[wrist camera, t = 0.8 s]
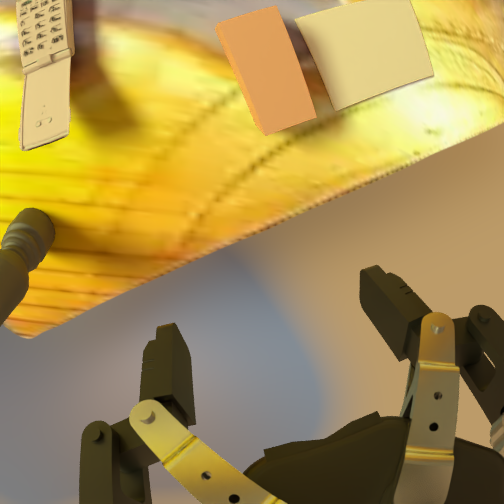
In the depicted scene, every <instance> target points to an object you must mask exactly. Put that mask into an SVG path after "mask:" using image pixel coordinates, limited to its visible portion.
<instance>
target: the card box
mask: <svg viewBox="0 0 504 504" xmlns="http://www.w3.org/2000/svg"><path fill="white" fill-rule="evenodd" d="M215 31H216V33H217V36H218V38H219V40H220V42H221V44H222V47H223V49H224V51H225V53H226V56H227V58H228V60H229V62H230V65H231V67H232V69H233V72H234V74H235V76H236V79H237V81H238V83H239V86H240V88H241V91H242V93H243V95H244V98H245V100H246V103H247V105H248V107H249V110H250V112H251V115H252V117H253V120H254V122H255V125H256V126H257V127H258V128H259V129H260V130H261V131H262V132H263V134H264V135H265V136H267V135H270V134H272V133H275V132H277V131H280V130H283V129H285V128H288V127H291V126H294V125H296V124H299V123H302V122H305V121H308V120H311V119H314V118H316V117H317V116H316V113H315V109H314V106H313V103H312V100H311V97H310V94H309V91H308V88H307V85H306V82H305V79H304V76H303V73H302V70H301V67H300V64H299V62H298V59H297V56H296V53H295V51H294V48H293V45H292V43H291V40H290V38H289V35H288V32H287V30H286V27H285V25H284V23H283V20H282V18H281V15H280V13H279V11H278V8H277V6H272V7H268V8H265V9H261V10H257V11H254V12H250V13H247V14H244V15H241V16H237V17H234V18H231V19H228V20H225V21H223V22H220V23H218V24H217V26H216V28H215Z"/></svg>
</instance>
